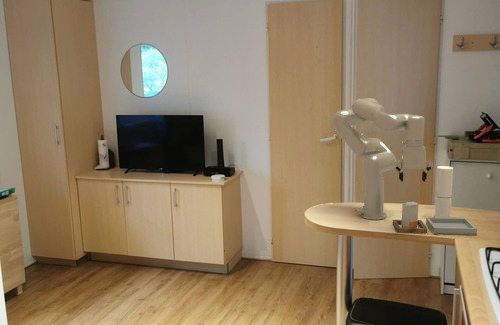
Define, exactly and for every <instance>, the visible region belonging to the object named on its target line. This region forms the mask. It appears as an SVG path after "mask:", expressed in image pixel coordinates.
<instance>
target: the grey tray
mask: <svg viewBox="0 0 500 325" xmlns="http://www.w3.org/2000/svg"><path fill="white" fill-rule="evenodd" d="M425 224H426V227H428V229H429V230H430V231H431V233H432V234H433V235H438V234H443V235H446V236H447V235H448V236H452V235H453V236H477V235H478V228H477V227H476V226H475V225H474V224H473V223H472V222H471V221H470V220H469V219H468V218H466V217H450V218H435V217H426V218H425Z"/></svg>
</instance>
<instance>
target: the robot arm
mask: <svg viewBox="0 0 500 325" xmlns="http://www.w3.org/2000/svg"><path fill="white" fill-rule="evenodd" d="M350 106H351V107H350V109H342V110H338V111H336V112H335V113H334V114H333V116H332V120H331V122H332V127H333V129H334V131H335V133H336V134H337V136H339V138H340V139H341V140H343V142H345V144H346V145H347V147H348V148H350V150H351V151H352V152H353V153H354V155H355V156H356V157H357V158H359V159H363V160H362V168H363V170H362V171H363V174H364V175H363V176H364V179H363V180H364V182H363V183H364V184H363V185H364V186H363V187H364V192H363V195H364V196H363V205H362V206H361V207H354V208H353V209H354V212H355V213H358V214H359V213H360V217H361V218H363V219H366V220H372V221H377V220H385V219H386V218H387V217H388V216H387V213H386V212H384V210H385V209H384V207H385V206H384V205H385V180H384V179H385V178H384V176H383V174H382V173H385V172H389V171H392V170H394V169H396V170H397V171H398V179H399V180H400V182H402V183H403V182H404V171H405V170H422V175H421V180H422V182H426V180H427V176H428V172H430V170H432V168H433V166H434V162H432V161H430V160H428V159H427V151H426V146H424V136H425V117H424V116H422V115H416V114H415V115H413V114H411V113H410V114H409V113H397V114H389V113H386V112H385V111H386V110H385V108H384V106H383V105H382V104H380V103H379V101H378V100H377V99H376V98H373V97H369V98H358V99H356V100H354V101H353V102H352V104H351V105H350ZM366 121H370V122H373V125H375V127H377V128H378V129H381V130H384V131H387V132H393V133H395V132H402V131H405V140H402V141H401V144H402V145H404V146H403V148H402V152H401V158H400V159H398V160H397V157H396V156H395V154H394V153H393V151H391V150H390V149H389V147H388V146H386V145H385V143H384V142H383V141H382V140H381V139H380V138H377V137H364V136H363V135H362V134H361V133H360V131H359V130H357V129H355V128H354V127H353V126H359V125H362V124H365V122H366ZM399 164H400V165H401V166H400V167H399V166H398V165H399ZM427 164H428V166H427Z"/></svg>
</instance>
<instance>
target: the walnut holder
mask: <svg viewBox="0 0 500 325" xmlns="http://www.w3.org/2000/svg"><path fill="white" fill-rule="evenodd" d="M401 224H402V219H392V225H393V227H394V229H395V232H396V233H397V234H426V233H427V234H428V229H429V228H427V225H425V223H424V222H423V221H422V220H421V219H418V221H417V226H418V227H417V228H401Z"/></svg>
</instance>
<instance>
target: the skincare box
mask: <svg viewBox="0 0 500 325" xmlns="http://www.w3.org/2000/svg"><path fill="white" fill-rule="evenodd" d="M401 206H402V208H401V220H402V224H401V225H400V228H418V225H417V221H418V220H419V218H418V217H419V203H418V202H415V201H408V202H403V203H402V205H401Z"/></svg>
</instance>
